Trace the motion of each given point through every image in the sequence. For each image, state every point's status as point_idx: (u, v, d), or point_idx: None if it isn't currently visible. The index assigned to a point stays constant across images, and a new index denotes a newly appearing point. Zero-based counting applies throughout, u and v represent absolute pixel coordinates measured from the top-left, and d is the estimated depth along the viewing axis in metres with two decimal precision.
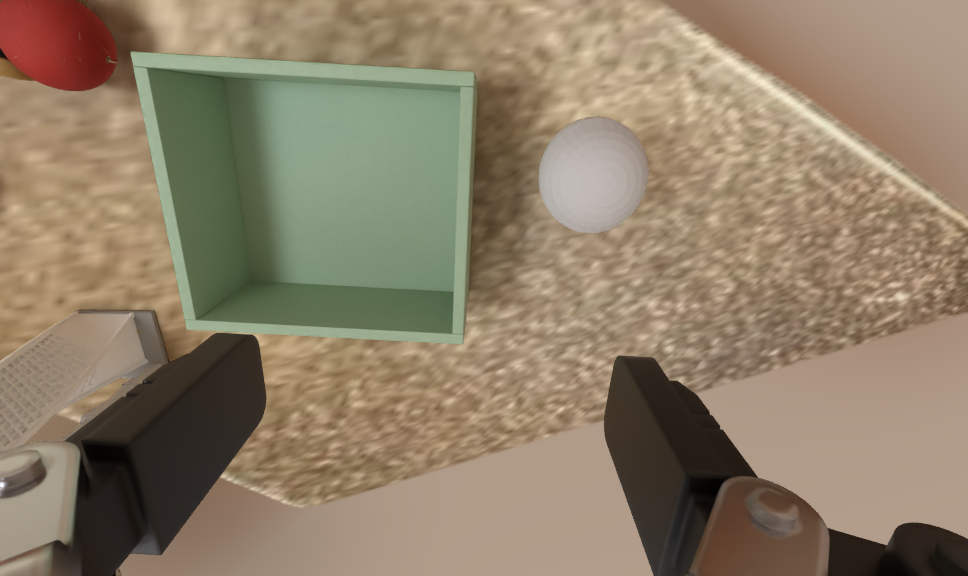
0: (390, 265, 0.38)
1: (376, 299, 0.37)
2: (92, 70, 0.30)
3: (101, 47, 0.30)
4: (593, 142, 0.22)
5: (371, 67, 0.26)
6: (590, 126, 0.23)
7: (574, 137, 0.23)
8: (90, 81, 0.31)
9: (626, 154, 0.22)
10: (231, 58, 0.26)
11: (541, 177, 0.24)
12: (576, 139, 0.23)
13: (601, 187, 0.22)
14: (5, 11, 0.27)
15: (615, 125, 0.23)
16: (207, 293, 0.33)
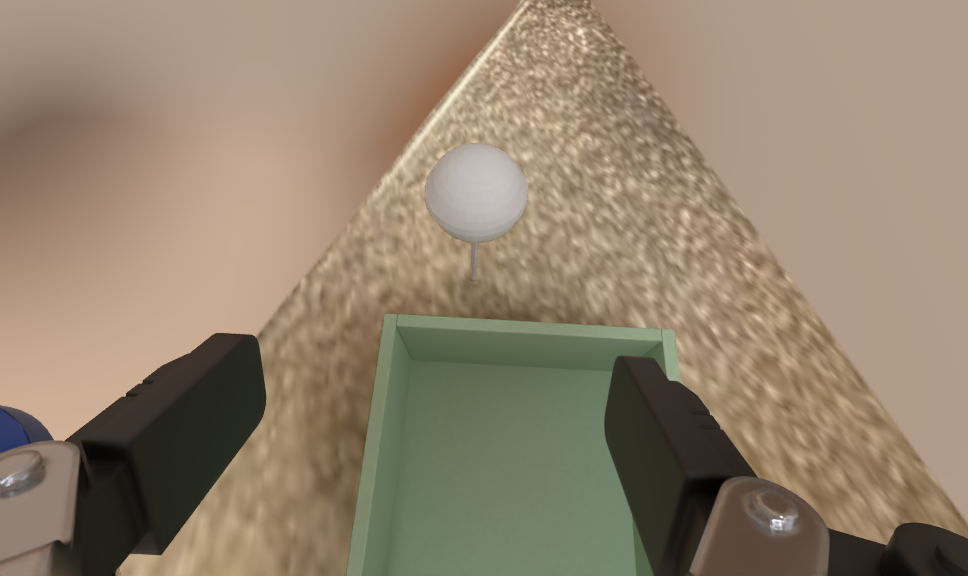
0: (597, 453, 0.32)
1: None
2: None
3: None
4: (442, 179, 0.25)
5: (371, 413, 0.25)
6: (430, 189, 0.26)
7: (438, 198, 0.25)
8: None
9: (452, 153, 0.25)
10: None
11: (475, 229, 0.25)
12: (440, 195, 0.25)
13: (480, 164, 0.24)
14: None
15: (431, 173, 0.26)
16: None
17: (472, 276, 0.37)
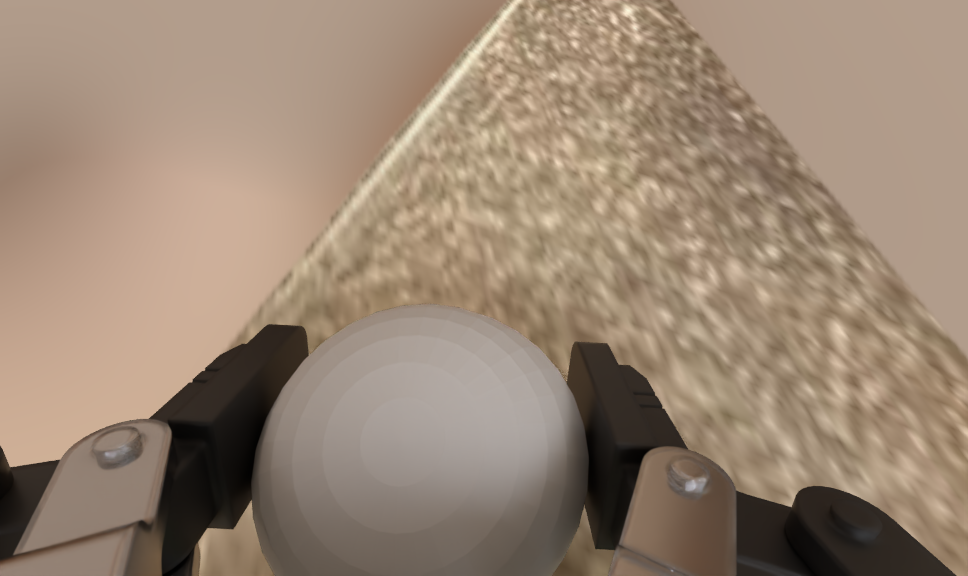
0: None
1: None
2: None
3: None
4: (275, 486, 0.07)
5: None
6: (255, 488, 0.07)
7: (270, 547, 0.07)
8: None
9: (323, 372, 0.07)
10: None
11: None
12: (272, 545, 0.07)
13: (414, 452, 0.06)
14: None
15: (272, 408, 0.08)
16: None
17: None
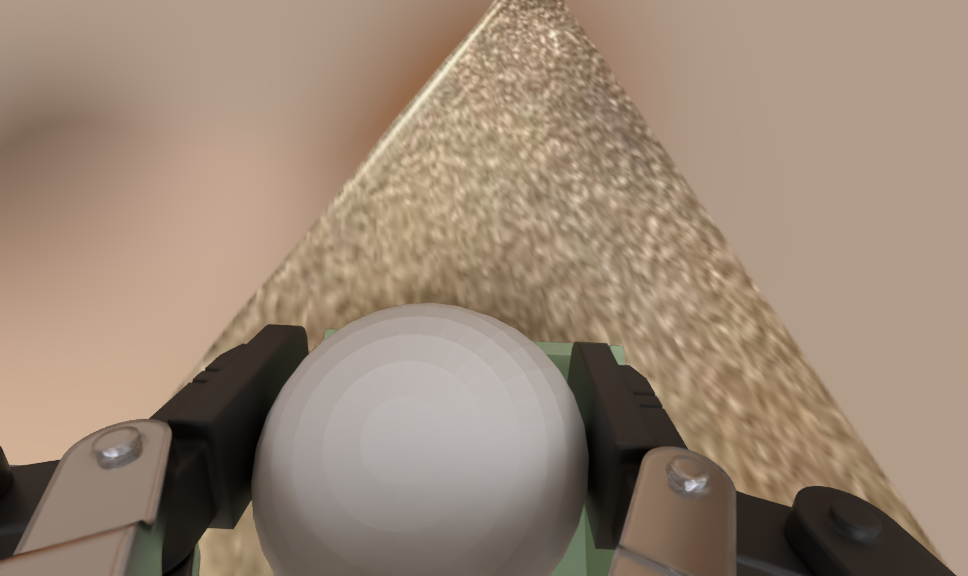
0: None
1: None
2: None
3: None
4: (275, 485, 0.07)
5: None
6: (255, 486, 0.07)
7: (270, 545, 0.07)
8: None
9: (323, 371, 0.07)
10: None
11: None
12: (272, 543, 0.07)
13: (414, 450, 0.06)
14: None
15: (272, 407, 0.08)
16: None
17: None
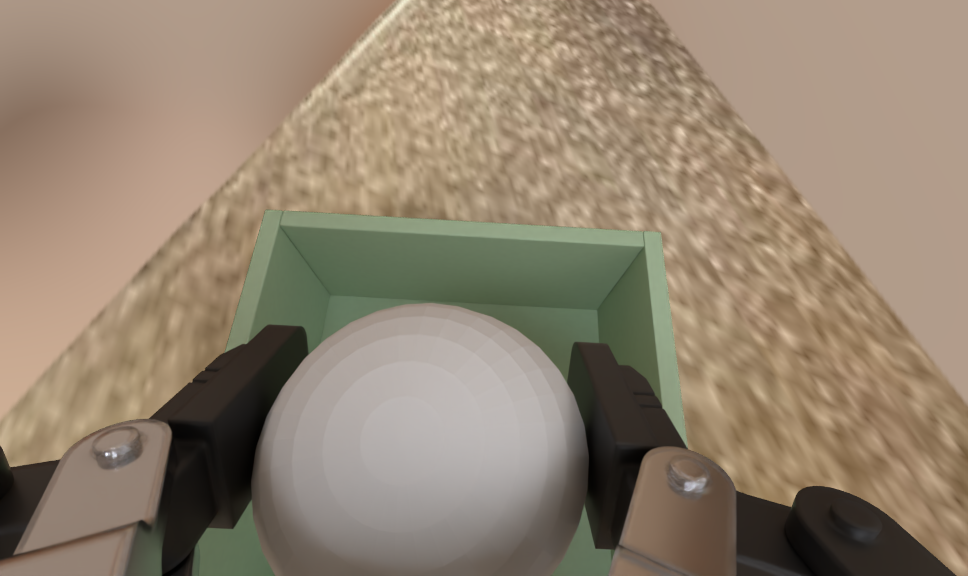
0: None
1: None
2: None
3: None
4: (275, 485, 0.07)
5: (230, 336, 0.18)
6: (255, 487, 0.07)
7: (270, 546, 0.07)
8: None
9: (323, 371, 0.07)
10: None
11: None
12: (272, 543, 0.07)
13: (414, 451, 0.06)
14: None
15: (272, 408, 0.08)
16: None
17: None
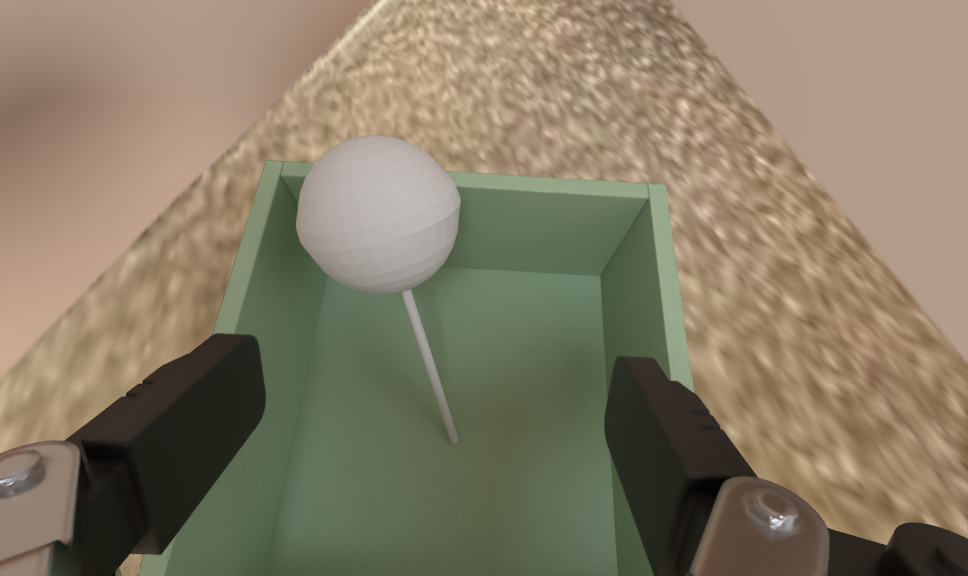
0: (567, 373, 0.24)
1: None
2: None
3: None
4: None
5: (230, 281, 0.17)
6: None
7: (299, 197, 0.16)
8: None
9: None
10: None
11: (332, 230, 0.14)
12: (300, 192, 0.16)
13: (357, 138, 0.16)
14: None
15: None
16: None
17: (446, 430, 0.22)
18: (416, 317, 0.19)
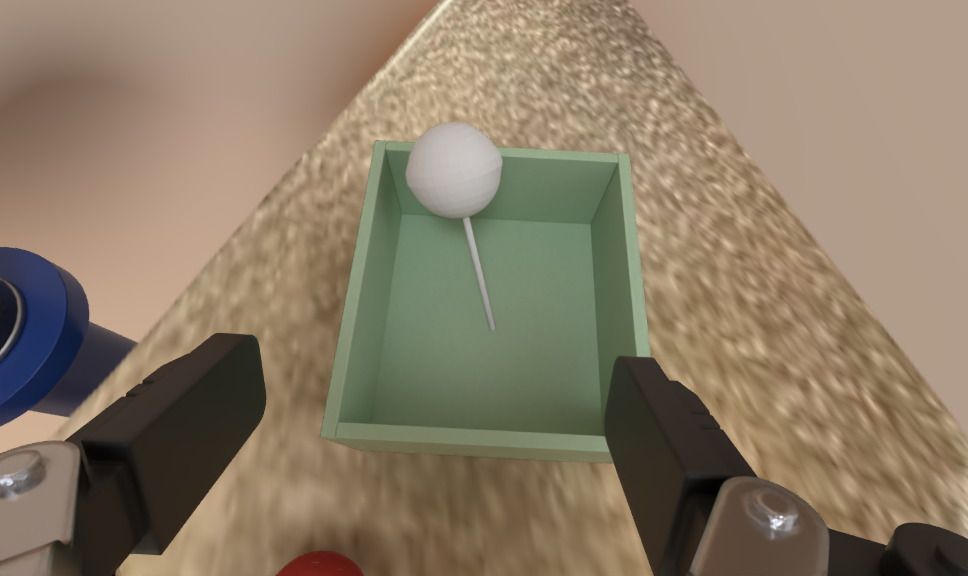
0: (567, 287, 0.36)
1: (603, 282, 0.33)
2: (351, 566, 0.26)
3: (327, 552, 0.26)
4: (414, 144, 0.28)
5: (363, 212, 0.29)
6: None
7: (409, 158, 0.27)
8: None
9: None
10: (340, 330, 0.25)
11: (434, 174, 0.26)
12: (410, 155, 0.27)
13: (444, 124, 0.27)
14: None
15: None
16: None
17: (488, 320, 0.33)
18: (472, 237, 0.30)
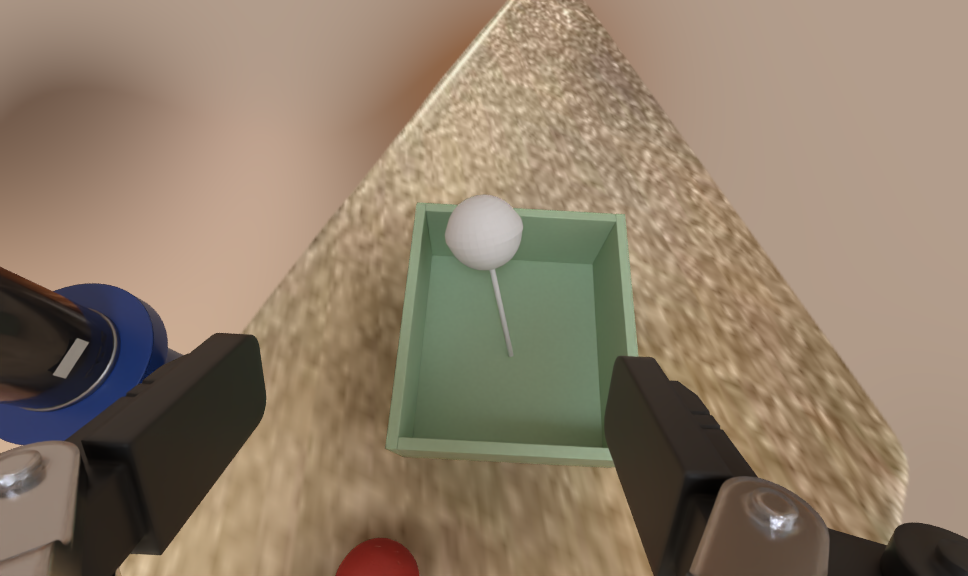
0: (573, 319, 0.43)
1: (603, 317, 0.40)
2: (404, 549, 0.32)
3: (385, 539, 0.33)
4: (452, 212, 0.34)
5: (409, 264, 0.35)
6: None
7: (448, 224, 0.34)
8: (413, 558, 0.33)
9: None
10: (396, 363, 0.32)
11: (470, 240, 0.33)
12: (449, 221, 0.34)
13: (477, 197, 0.34)
14: None
15: None
16: None
17: (507, 348, 0.40)
18: (496, 283, 0.37)
